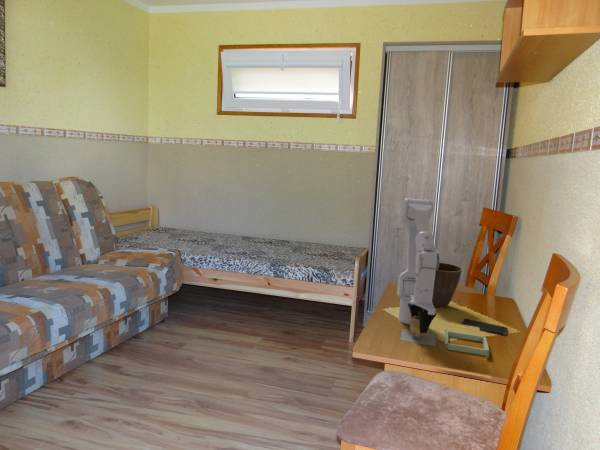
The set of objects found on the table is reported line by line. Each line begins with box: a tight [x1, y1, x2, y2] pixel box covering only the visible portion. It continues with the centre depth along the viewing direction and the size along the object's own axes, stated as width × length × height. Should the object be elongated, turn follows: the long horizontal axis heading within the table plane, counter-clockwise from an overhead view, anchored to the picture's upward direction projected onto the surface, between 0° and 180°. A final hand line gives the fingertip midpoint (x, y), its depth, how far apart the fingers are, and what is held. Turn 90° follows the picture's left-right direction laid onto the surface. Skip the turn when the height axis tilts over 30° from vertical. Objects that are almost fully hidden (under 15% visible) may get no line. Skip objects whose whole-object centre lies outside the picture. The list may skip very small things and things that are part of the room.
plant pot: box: [432, 262, 463, 309], centre depth 197 cm, size 15×15×16 cm
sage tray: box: [444, 329, 490, 359], centre depth 155 cm, size 13×13×2 cm
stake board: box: [399, 328, 437, 347], centre depth 158 cm, size 11×11×5 cm
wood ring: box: [409, 316, 430, 335], centre depth 158 cm, size 5×5×5 cm
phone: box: [460, 318, 509, 336], centre depth 175 cm, size 8×1×15 cm
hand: (419, 329), depth 158 cm, fingers closed on wood ring, 5 cm apart
